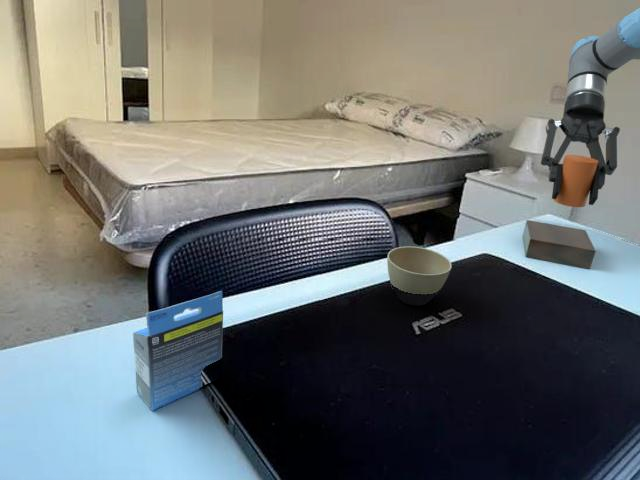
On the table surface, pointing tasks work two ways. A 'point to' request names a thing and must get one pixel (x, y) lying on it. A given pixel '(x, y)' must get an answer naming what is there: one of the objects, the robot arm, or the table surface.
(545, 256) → the grey shallow square box
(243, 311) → the table surface
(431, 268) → the beige bowl
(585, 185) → the orange drum
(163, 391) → the label tape box
